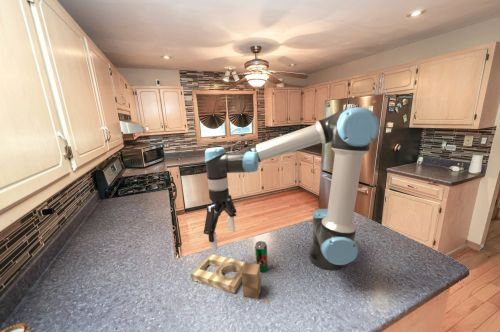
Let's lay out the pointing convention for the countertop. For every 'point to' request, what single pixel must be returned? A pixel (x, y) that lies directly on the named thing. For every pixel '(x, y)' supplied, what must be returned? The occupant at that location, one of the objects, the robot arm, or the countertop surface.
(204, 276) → the socket board
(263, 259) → the soda can
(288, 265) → the countertop surface
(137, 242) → the countertop surface
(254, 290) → the walnut square peg
